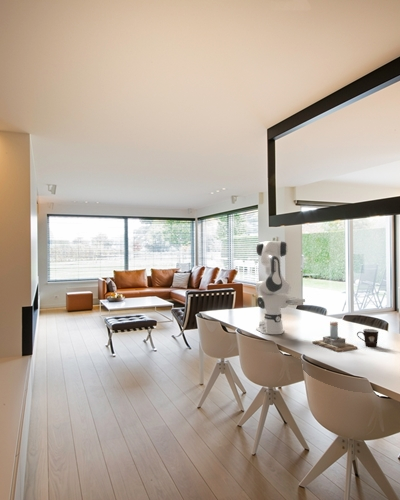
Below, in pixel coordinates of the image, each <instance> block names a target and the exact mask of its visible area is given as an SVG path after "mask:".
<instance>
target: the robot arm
mask: <svg viewBox="0 0 400 500" xmlns="http://www.w3.org/2000/svg"><path fill="white" fill-rule="evenodd" d="M255 250H256V253H257V255H258V256H260V261H261V264H262V265H263V266H264V268H265V274H266V275H267V278H266V279H264V280H259V281H257V283H256V284H255V291H256V293H257V294H258V295H257V299H256V302H257V306H258V307H259V308H260V309H263V310H265V313H264V318H263V319H261V321H259V325H258V327H256V328H255V330H256V331H258V332H260V333H262V334H265V335H281V334H284V332H285V330H284V324H283V320H282V318H283V317H282V311H281V309H285V308H287V307H288V305H289V306H304V303H305V302H306V300H305V299H306V298H305V299H304V298H299V297H293V296H287V295H288V294H290V293H291V289H292V287H291V284H290V283H289V281H287V280H286V279H285V278H284V276H283V275H282V269H281V266H282V265H281V258H283V257H285V256H286V255H287V253H288V250H289V248H288V244H287V242H286V241H277V240H269V241H259V242H258V243H257V244H256V246H255Z"/></svg>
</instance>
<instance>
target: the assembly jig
mask: <svg viewBox="0 0 400 500" xmlns="http://www.w3.org/2000/svg"><path fill="white" fill-rule="evenodd" d="M311 342H312V345H313V344H314V345H316V346H320V347H322V348H325V349H328V350H331V351H334V352H337V353H341V352H347V351H353V350H357V349H358V346H355V345H354V344H352V343H348V342H346V338H345V337H341V336H338V339H335V340H334V339H331V338H330V335H327V336H323V337H322V339H320V340H315V341H311Z"/></svg>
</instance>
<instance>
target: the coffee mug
mask: <svg viewBox="0 0 400 500" xmlns="http://www.w3.org/2000/svg"><path fill="white" fill-rule="evenodd" d="M359 334H362V335H363V338H364V339H363V338H361V336H359ZM356 336H357V337H358V338H359V339H360V340H362V341H363V342H364V344H365V346H366V347H367V348H373V349H374V348H378V339H379V330H378V329H375V328H374V329H373V328H365V329H364V328H363V331H358V332H357V333H356Z"/></svg>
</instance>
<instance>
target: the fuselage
mask: <svg viewBox="0 0 400 500" xmlns="http://www.w3.org/2000/svg"><path fill="white" fill-rule="evenodd" d="M338 324H339V323H338V322H337V321H330V322H329V333H330V334H329V336H330V338H331V339H334V340H335V339H338V337H339V331H338V327H339V326H338Z"/></svg>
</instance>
